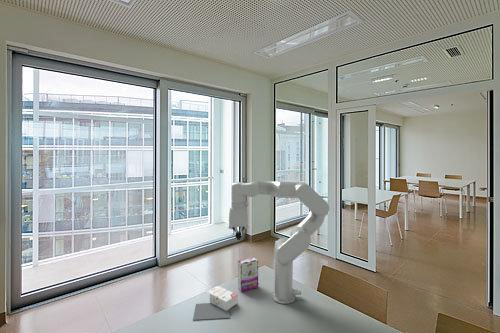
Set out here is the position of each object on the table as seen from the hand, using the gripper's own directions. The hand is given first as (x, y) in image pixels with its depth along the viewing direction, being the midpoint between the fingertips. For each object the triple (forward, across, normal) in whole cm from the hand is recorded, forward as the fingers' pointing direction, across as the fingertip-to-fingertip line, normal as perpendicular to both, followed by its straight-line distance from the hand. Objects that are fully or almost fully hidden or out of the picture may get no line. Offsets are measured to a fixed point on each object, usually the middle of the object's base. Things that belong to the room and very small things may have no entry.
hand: (238, 239), depth 137 cm
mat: (+31, +14, +12) cm, 36 cm away
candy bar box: (+31, -6, -8) cm, 33 cm away
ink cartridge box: (+28, +4, +11) cm, 31 cm away
